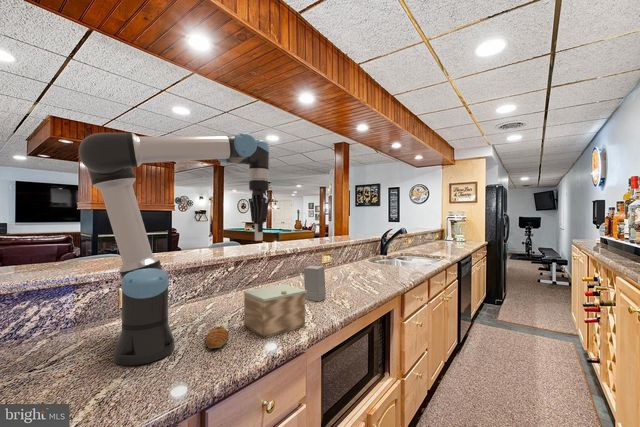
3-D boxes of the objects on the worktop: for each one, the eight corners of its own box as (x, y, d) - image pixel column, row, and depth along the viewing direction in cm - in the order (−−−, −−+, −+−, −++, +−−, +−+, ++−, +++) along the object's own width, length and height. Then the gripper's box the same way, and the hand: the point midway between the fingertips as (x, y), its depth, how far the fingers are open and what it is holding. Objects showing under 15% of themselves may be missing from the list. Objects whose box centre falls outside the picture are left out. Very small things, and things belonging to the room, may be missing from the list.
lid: (264, 301, 96) (264, 296, 96) (243, 293, 107) (243, 289, 107) (306, 292, 108) (306, 288, 108) (284, 286, 119) (284, 282, 119)
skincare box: (326, 299, 143) (326, 266, 143) (318, 302, 137) (318, 268, 137) (311, 296, 148) (311, 264, 148) (303, 299, 141) (303, 266, 142)
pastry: (226, 349, 89) (227, 336, 89) (202, 351, 87) (203, 338, 87) (228, 336, 98) (229, 325, 98) (206, 338, 96) (207, 326, 96)
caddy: (263, 338, 97) (263, 302, 97) (244, 326, 108) (244, 293, 108) (304, 326, 108) (305, 293, 108) (283, 316, 119) (283, 286, 119)
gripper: (276, 179, 115) (275, 241, 115) (259, 182, 125) (258, 238, 124) (258, 178, 110) (258, 242, 110) (242, 181, 120) (242, 239, 120)
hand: (258, 240), depth 117 cm, fingers closed
